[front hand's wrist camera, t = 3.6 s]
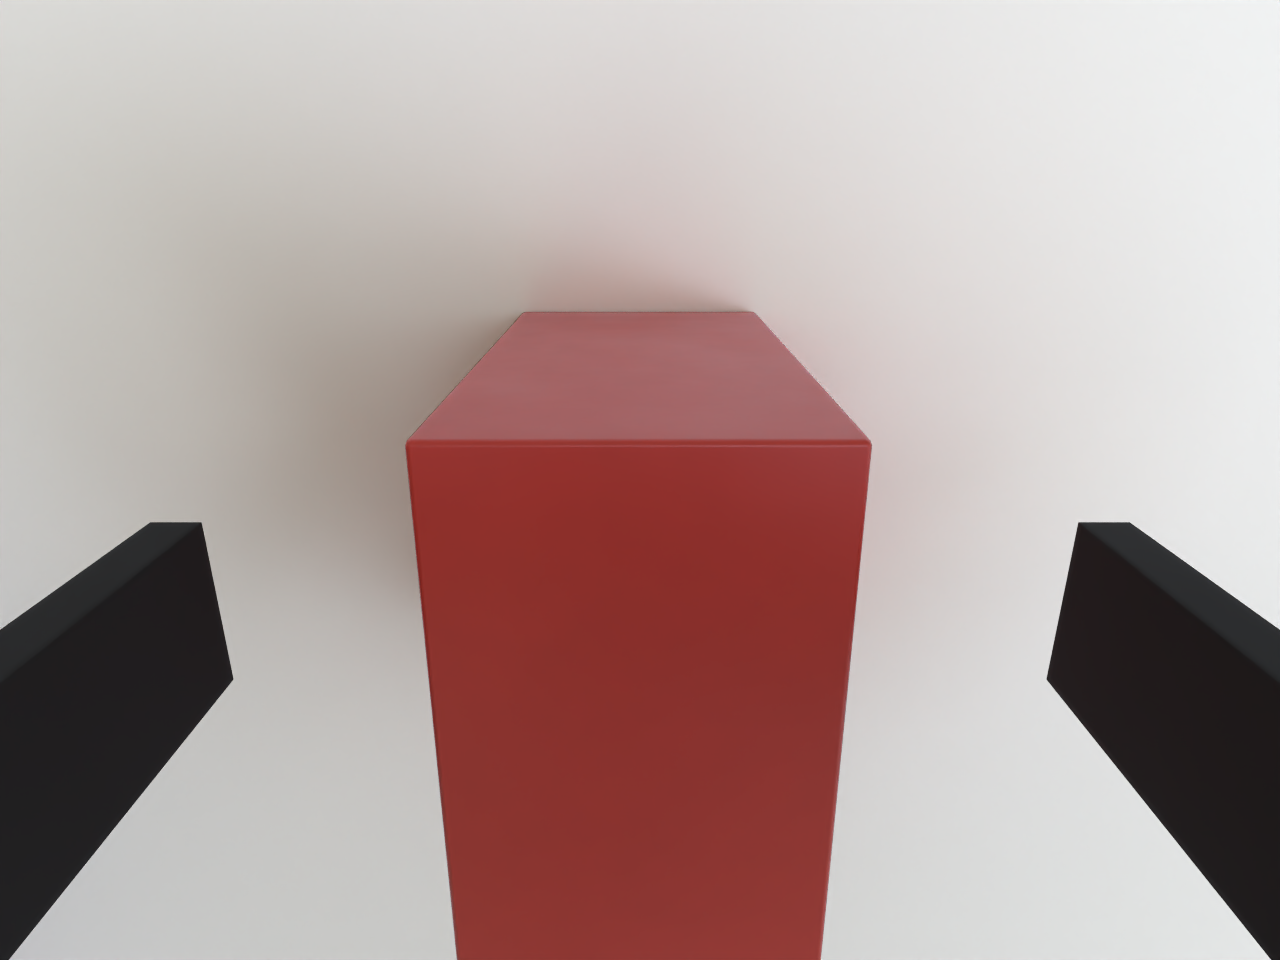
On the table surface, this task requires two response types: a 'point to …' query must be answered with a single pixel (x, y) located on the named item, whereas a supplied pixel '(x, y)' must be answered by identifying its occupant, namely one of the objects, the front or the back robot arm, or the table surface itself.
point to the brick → (638, 637)
